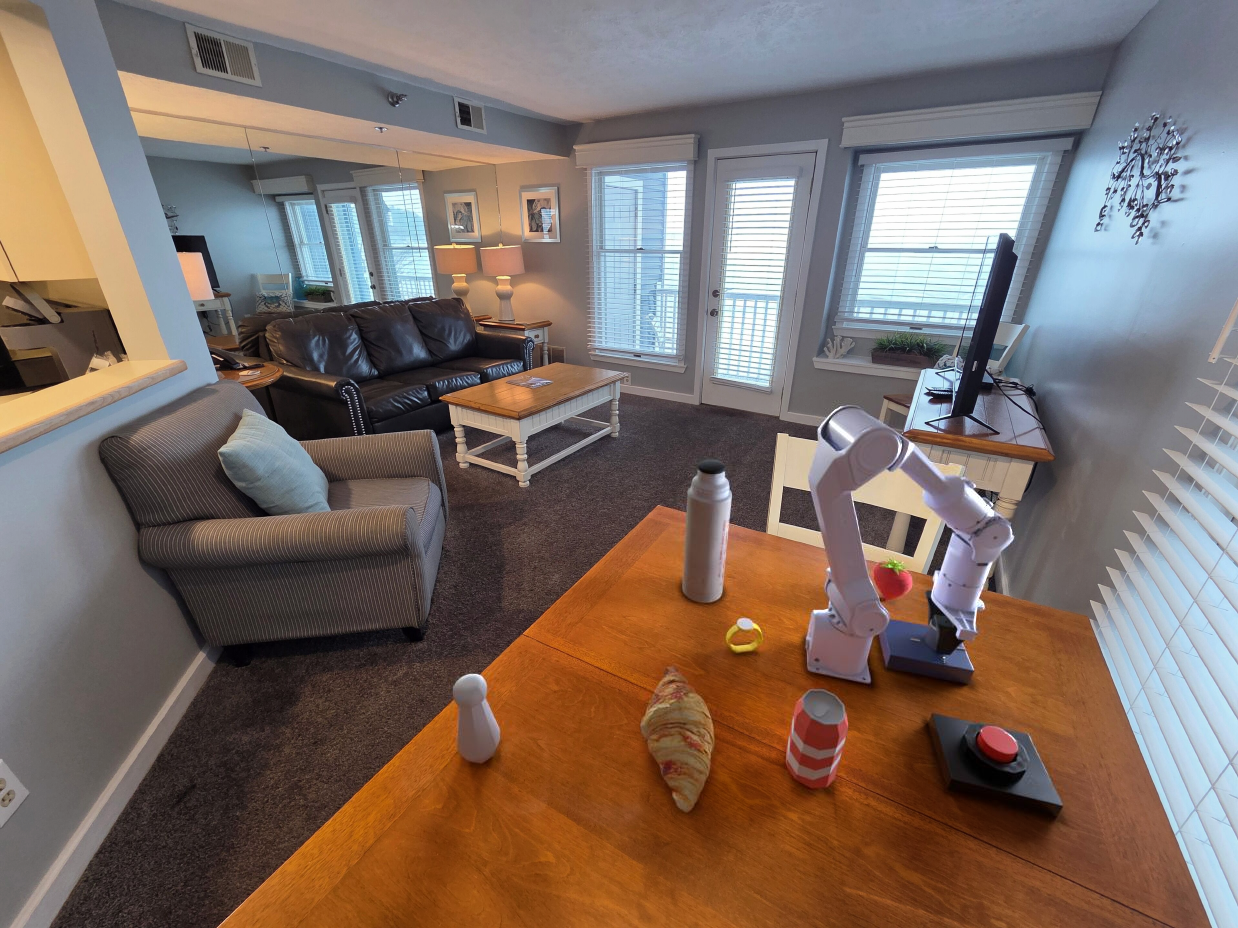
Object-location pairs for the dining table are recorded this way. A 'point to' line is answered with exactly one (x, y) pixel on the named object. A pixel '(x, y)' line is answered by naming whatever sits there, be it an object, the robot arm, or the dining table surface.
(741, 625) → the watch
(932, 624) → the dial knob
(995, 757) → the button
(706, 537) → the thermos bottle
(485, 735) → the salt shaker
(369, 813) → the dining table surface
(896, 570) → the strawberry
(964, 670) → the dial panel
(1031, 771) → the button box
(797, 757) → the beverage can
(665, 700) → the croissant
